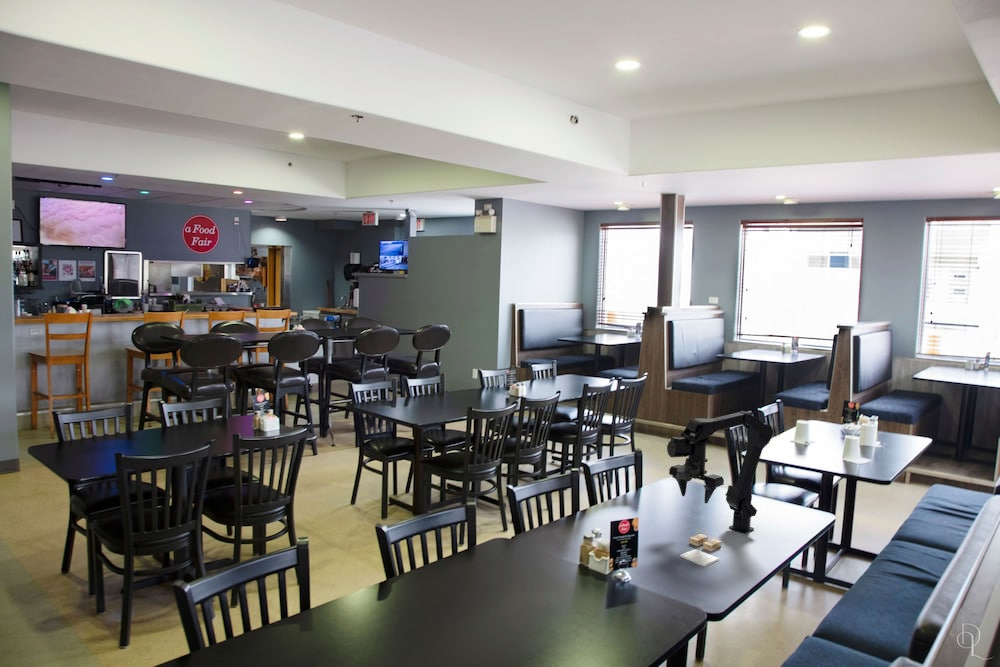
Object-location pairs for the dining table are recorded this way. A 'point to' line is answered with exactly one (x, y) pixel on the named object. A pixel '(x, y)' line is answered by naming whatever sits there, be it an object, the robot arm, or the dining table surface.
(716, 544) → the oak holder
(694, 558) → the white board
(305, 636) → the dining table surface
